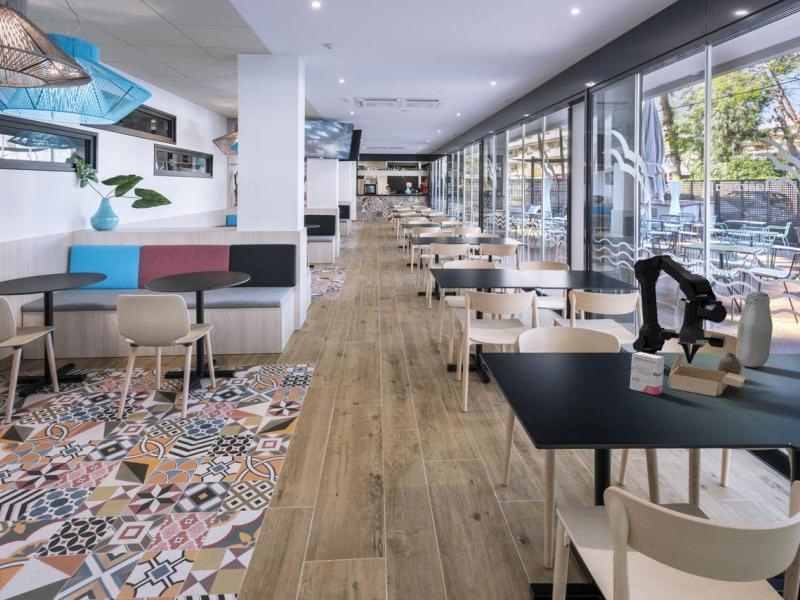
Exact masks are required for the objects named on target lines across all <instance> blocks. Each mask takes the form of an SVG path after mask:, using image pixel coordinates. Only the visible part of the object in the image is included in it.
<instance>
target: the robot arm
mask: <svg viewBox="0 0 800 600" xmlns="http://www.w3.org/2000/svg"><path fill="white" fill-rule="evenodd" d="M661 271H662V272H664V273H665V274H667V275H668V277H671V279H672V280H674V281H676V283H678V286H679V290H680V291H681V292H682V293H683V294H684V296H682V298H680V301H681V302H684V310H683V311H684V312H683V321H682V326H681V327H680V330H679V333H678V332H676V329H670V328H665V327H662V326H661V325H660V323H659V316H658V302H657V290H656V289H657V288H656V287H657V285H656V283H657V281H658V279H659V278H660V275H661V274H660V272H661ZM633 273H634V277H635V279H636V280H637V282H638V284H639V285H640V295H641V299H640V300H641V309H642V310H641V311H642V324H641V327H640V328H639V330H638V338H636V340H635V341H634V342H633V343H632V348H633V350H635V351H636V353H638V352H643V353H648V354H652V355H657V356H659V354H658V352H661V351H662V350H663V348H664V345H665V342H666V341H670V340H672V339H676V340H677V339H678V341H677V345H679V346H681V347H682V350H683V351H684V352H685V353H684V356H685V358H686V361H687V363H688V364H692V362H693V361H694V358H695V356H696V354H697V352H698V351H699V349H700V348H703V347H705V345H706V344H707V343H708V345H709V346H711V347H713V348H722V349H723V348H724V347H725V346H726V344H727V343H726V341H727V337H725V336H724V335H719V334H718V335H717V334H711V335H710V336H706V335H705V329H704V321H707V322H711V323H716V324H721V323H722V322H724V321H725V320H726V318H727V315H728V311H727V308H726V307H725V306H724V305H723V301H722V300H717V297H716V294H715V292H714V290H713V288H712V285H711V282H710V281H709V279H707V278H706V277H704V276H701V275H698V274H694V273H691V272H690V271H689V270H687V269H686V268H685V267H683V266H682V265H680V263H678V262H676V260H674V259H673V258H672V257H671V256H670V255H668V254H656V255H654V256H652V257H648V258H644V259H638V260H637V261H636V262H635V263H634V264H633Z"/></svg>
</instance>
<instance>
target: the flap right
mask: <svg viewBox="0 0 800 600" xmlns="http://www.w3.org/2000/svg"><path fill="white" fill-rule="evenodd" d="M746 379H747V376H744V375H742V374H740V375H737V374H733V373H728V374H727V375H726V377H725V378H724V380H723V381H722V383H725V384H727V385H729V386H732V387H733V386H734V387H737V388H741V387H742V385H743V384H744V382H745V380H746Z"/></svg>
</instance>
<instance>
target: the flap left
mask: <svg viewBox="0 0 800 600" xmlns="http://www.w3.org/2000/svg"><path fill="white" fill-rule="evenodd" d="M684 356H685V352H684V350H683V351H681V353H680V354H678V355H677V356H676V357H675V358H674V361H673V363H672V366H671V368H670V373H672V372H673V371H674V370H675V369H676V368H677V367H678V366H681V363H682V361H683V359H684Z"/></svg>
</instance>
